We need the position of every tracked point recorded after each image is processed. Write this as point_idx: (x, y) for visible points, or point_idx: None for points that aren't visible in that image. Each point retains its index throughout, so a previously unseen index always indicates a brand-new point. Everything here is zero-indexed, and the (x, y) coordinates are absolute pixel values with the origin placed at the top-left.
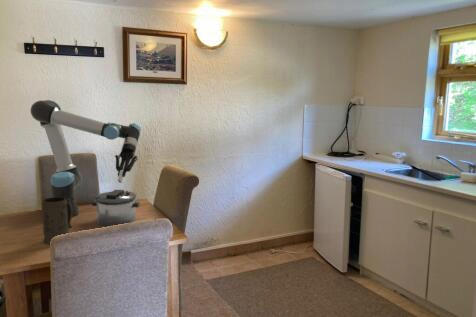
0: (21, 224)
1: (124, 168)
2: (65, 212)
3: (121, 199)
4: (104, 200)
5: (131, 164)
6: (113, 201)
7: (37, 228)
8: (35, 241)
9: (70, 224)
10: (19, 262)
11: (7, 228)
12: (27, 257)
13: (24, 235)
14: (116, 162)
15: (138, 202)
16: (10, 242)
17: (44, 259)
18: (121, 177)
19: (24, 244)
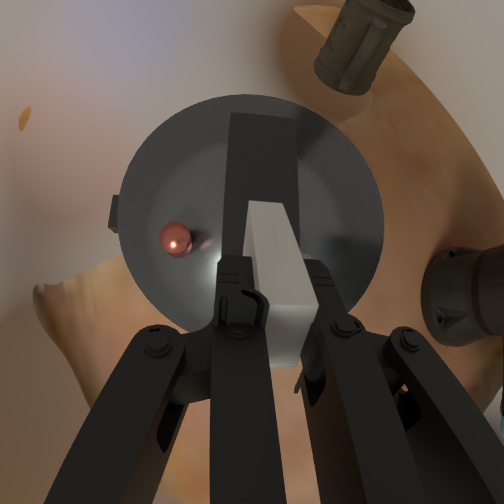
0: (483, 196)
1: (242, 344)
2: (342, 14)
3: (191, 122)
4: (284, 104)
5: (75, 458)
6: (229, 96)
7: (440, 160)
8: (381, 77)
9: (342, 80)
10: (331, 12)
11: (484, 170)
12: (333, 22)
13: (428, 116)
14: (494, 444)
15: (113, 221)
16: (419, 84)
17: (298, 11)
18: (249, 236)
19: (388, 68)
